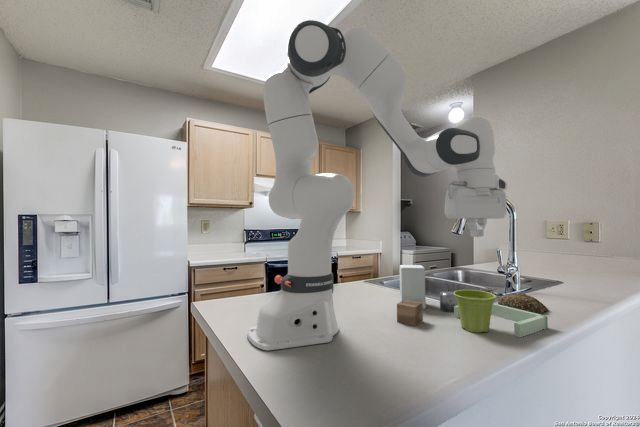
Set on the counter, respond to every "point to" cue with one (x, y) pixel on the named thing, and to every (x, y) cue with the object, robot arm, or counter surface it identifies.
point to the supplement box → (412, 283)
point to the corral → (517, 319)
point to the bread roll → (522, 303)
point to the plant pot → (474, 309)
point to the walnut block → (409, 312)
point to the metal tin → (447, 301)
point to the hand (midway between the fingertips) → (477, 236)
